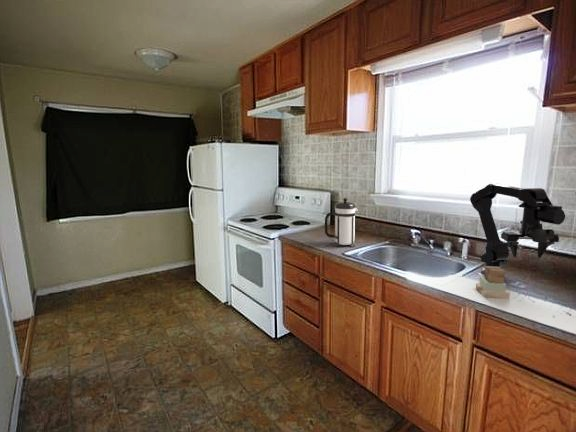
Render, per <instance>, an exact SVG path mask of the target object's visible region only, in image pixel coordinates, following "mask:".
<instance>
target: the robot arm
mask: <svg viewBox="0 0 576 432" xmlns="http://www.w3.org/2000/svg"><path fill="white" fill-rule="evenodd" d="M497 195H503V196H508V197H510V198H511V197H512V198H516V199H518V200H519V201H521V202H522V203H520V204H519V205H518V208H522V209H523V212H522V220H520V222H519V224H521V228H520V229H521V230H519V231H518V233H516V232H513V231H502V232H501V234H500V237H499V233H498V229H497V227H496V223H495V220H494V217H493V213H492V210H491V208H492V205H493V199H494V198H495V197H496V196H497ZM469 201H470V203H471V206H472V207H473V208H474V209H475V211H477V212H478V216H479V219H480V222H481V226H482V229H483V232H484V235H485V238H486V245H485V253H484V254H482V255H481V256H480V261H481V262H483V263H484V264H485V265H484V267H485V266H494V267H500V268H501V263H505V262H506V260H507V259H508V258H509V256H510V251H511V254H512V255H513V258H516V257H517V253H518V252H517V251H518V245H519V243H520V242H519V240H532V242H534V243H537V257H538V258H540V259H541V258H542V257H543V255H544V253H545V251H546V250H547V249H548V248H549V246H552V245H555V244H556V243H559V242H560V237H559V235H558V234H556V233H555V231H554V229H551V228H548V229H546V228H545V229H543V223H547V224H552V225H553V224H554V225H557V226H558V225H562V224H563V223H564V221H565V220H566V213H565V211H564V210H563V206H561V205H553V202H552V201H551V200H550V198H549V196H548V194H547V192H546V189H544V188H541V187H539V188H538V187H537V188H536V187H535V188H532V187H531V188H525V187H524V188H523V187H515V186H509V185H505V184H500V183H489V184H487V185H486V186H484V187H482V188H481V189H479V190H477V191H475V192H474V193H472V194H471V197H469ZM541 222H542V223H541ZM501 239H502V240H504V241H506V242H503V241H502V240H501ZM508 245H509V247H508ZM480 272H481V273H482V274H483V275H485V270H481V271H480Z"/></svg>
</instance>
